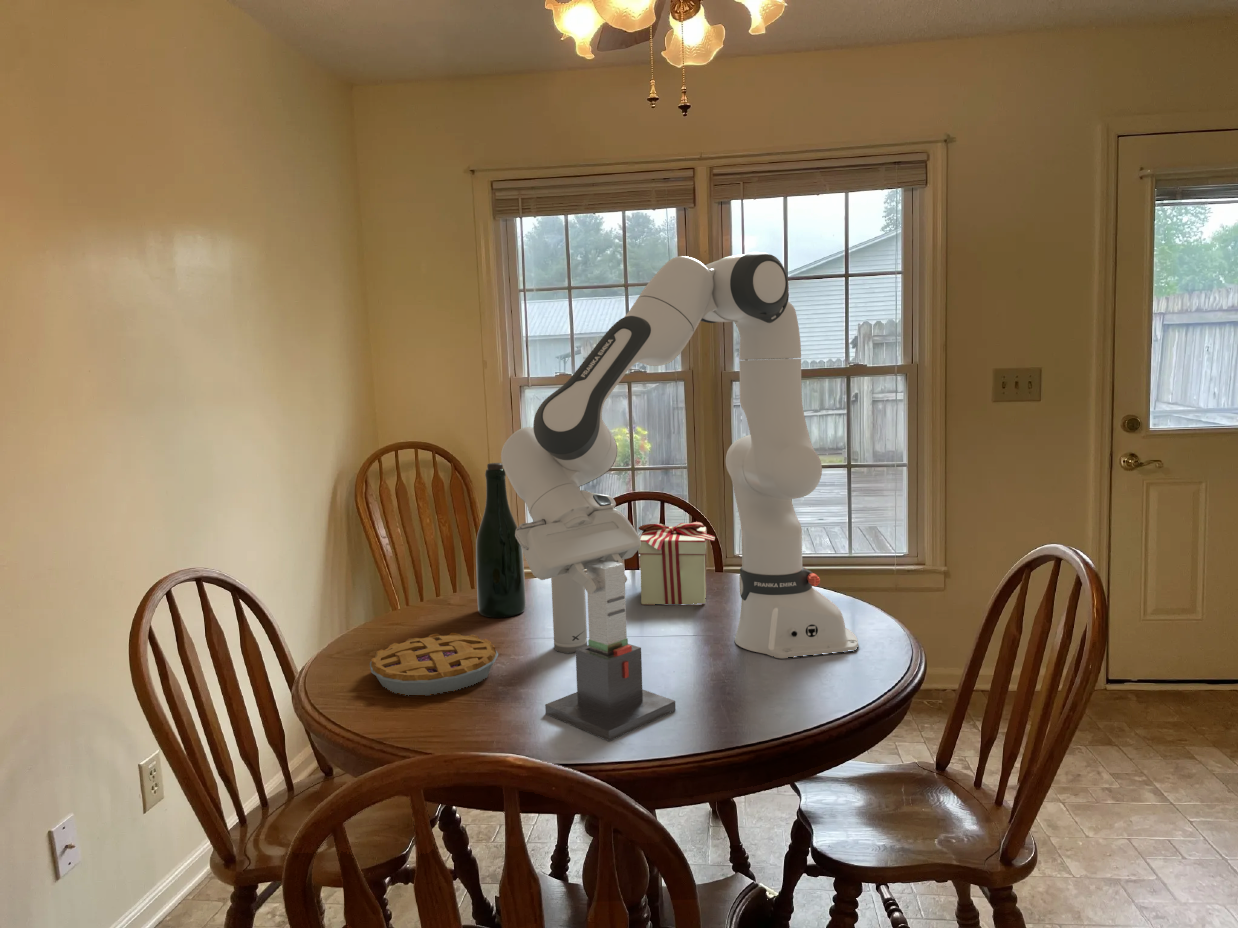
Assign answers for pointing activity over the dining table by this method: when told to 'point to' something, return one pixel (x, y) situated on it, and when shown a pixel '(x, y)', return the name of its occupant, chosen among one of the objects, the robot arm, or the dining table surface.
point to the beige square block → (607, 608)
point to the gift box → (673, 563)
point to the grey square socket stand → (609, 695)
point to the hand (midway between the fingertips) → (609, 587)
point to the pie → (434, 664)
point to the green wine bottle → (499, 553)
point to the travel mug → (568, 614)
